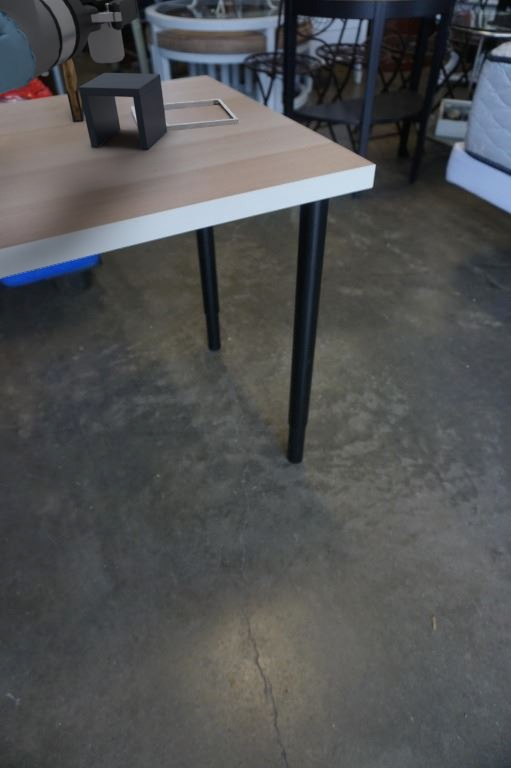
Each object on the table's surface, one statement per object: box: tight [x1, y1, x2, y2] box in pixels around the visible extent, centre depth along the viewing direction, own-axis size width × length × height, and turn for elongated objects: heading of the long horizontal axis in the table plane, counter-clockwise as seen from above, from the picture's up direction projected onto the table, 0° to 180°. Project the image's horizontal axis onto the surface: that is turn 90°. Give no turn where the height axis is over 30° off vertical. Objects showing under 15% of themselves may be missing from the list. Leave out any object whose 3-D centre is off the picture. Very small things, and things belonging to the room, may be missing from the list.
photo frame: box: [130, 98, 239, 132], centre depth 101 cm, size 15×1×18 cm
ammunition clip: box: [61, 58, 85, 123], centre depth 100 cm, size 11×2×12 cm, turn 13°
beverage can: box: [87, 23, 125, 64], centre depth 73 cm, size 5×5×12 cm
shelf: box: [79, 72, 168, 151], centre depth 89 cm, size 10×10×9 cm
